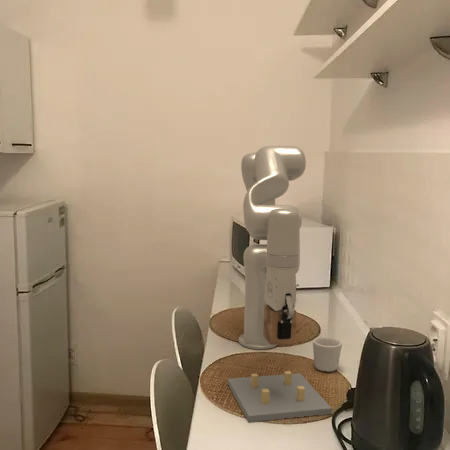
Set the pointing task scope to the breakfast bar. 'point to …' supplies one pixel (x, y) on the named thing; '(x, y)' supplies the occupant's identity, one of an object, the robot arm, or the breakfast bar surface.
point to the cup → (326, 353)
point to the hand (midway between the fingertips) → (279, 333)
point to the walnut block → (276, 326)
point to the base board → (277, 397)
